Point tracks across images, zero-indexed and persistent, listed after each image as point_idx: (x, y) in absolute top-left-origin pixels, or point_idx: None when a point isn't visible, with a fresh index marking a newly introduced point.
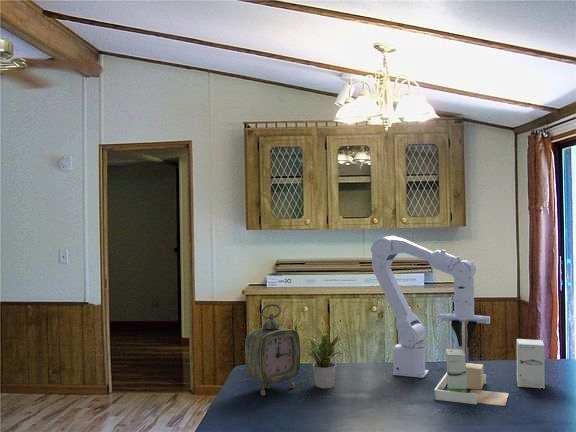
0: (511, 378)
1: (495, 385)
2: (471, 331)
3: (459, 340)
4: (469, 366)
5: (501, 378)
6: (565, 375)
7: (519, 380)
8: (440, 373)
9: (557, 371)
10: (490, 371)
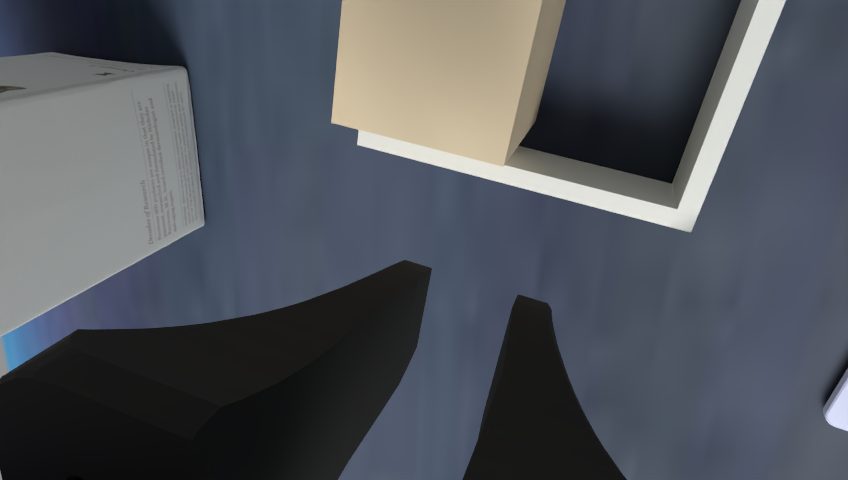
0: (237, 263)
1: (323, 88)
2: (225, 334)
3: (526, 334)
4: (471, 15)
5: (291, 260)
6: (19, 326)
7: (145, 70)
8: (715, 370)
9: None
10: None
